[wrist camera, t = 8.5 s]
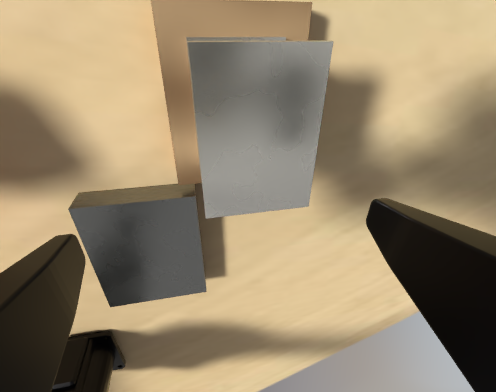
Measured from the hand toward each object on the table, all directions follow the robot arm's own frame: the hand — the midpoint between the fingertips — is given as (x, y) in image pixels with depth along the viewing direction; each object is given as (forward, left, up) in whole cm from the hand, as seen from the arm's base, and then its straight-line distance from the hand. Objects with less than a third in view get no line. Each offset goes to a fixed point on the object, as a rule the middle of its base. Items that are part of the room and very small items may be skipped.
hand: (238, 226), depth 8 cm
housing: (+1, -2, -10) cm, 10 cm away
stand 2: (+1, -2, -12) cm, 12 cm away
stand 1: (-10, +5, -12) cm, 16 cm away
